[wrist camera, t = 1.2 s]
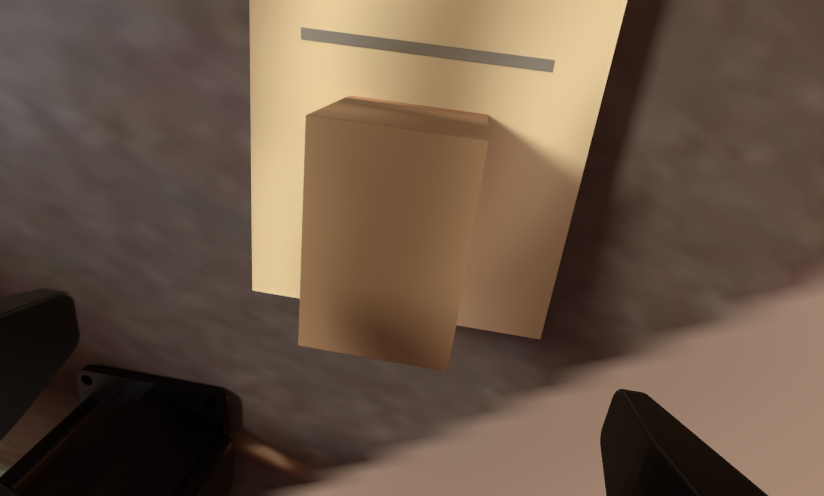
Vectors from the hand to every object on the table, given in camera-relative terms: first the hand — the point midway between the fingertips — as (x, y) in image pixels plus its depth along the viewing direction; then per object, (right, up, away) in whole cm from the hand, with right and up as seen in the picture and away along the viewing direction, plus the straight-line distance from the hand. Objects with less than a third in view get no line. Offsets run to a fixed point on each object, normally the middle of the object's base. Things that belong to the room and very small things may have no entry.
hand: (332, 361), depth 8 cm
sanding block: (+1, +3, +7) cm, 8 cm away
